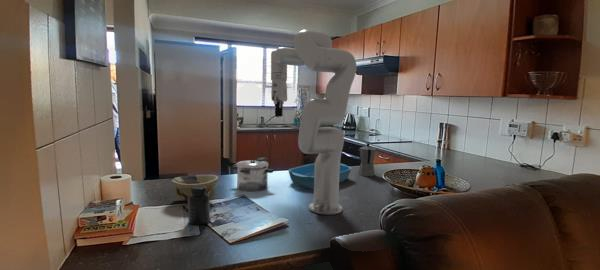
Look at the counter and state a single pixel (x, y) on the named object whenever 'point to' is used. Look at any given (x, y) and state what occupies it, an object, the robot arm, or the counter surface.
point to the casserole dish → (306, 175)
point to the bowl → (194, 184)
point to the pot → (252, 178)
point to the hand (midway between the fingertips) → (278, 116)
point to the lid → (253, 163)
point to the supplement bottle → (198, 206)
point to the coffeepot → (367, 161)
